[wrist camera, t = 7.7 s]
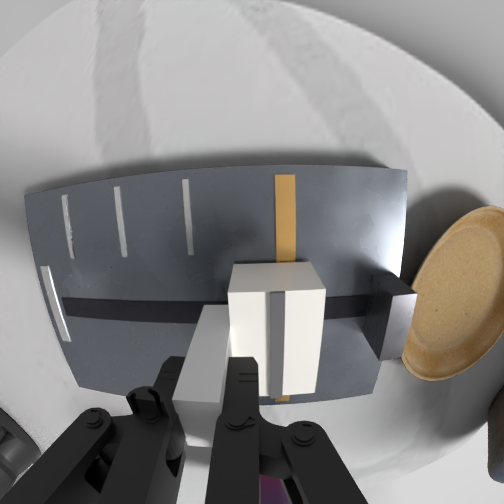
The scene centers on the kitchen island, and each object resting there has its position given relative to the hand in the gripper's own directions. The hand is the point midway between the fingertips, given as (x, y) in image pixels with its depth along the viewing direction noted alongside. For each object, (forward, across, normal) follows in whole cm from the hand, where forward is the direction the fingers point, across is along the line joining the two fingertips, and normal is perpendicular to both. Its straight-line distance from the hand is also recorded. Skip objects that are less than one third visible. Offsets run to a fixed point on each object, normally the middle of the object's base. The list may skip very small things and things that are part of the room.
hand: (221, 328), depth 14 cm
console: (+4, -2, 0) cm, 4 cm away
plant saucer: (+4, +18, -1) cm, 19 cm away
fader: (+2, +3, 0) cm, 3 cm away
